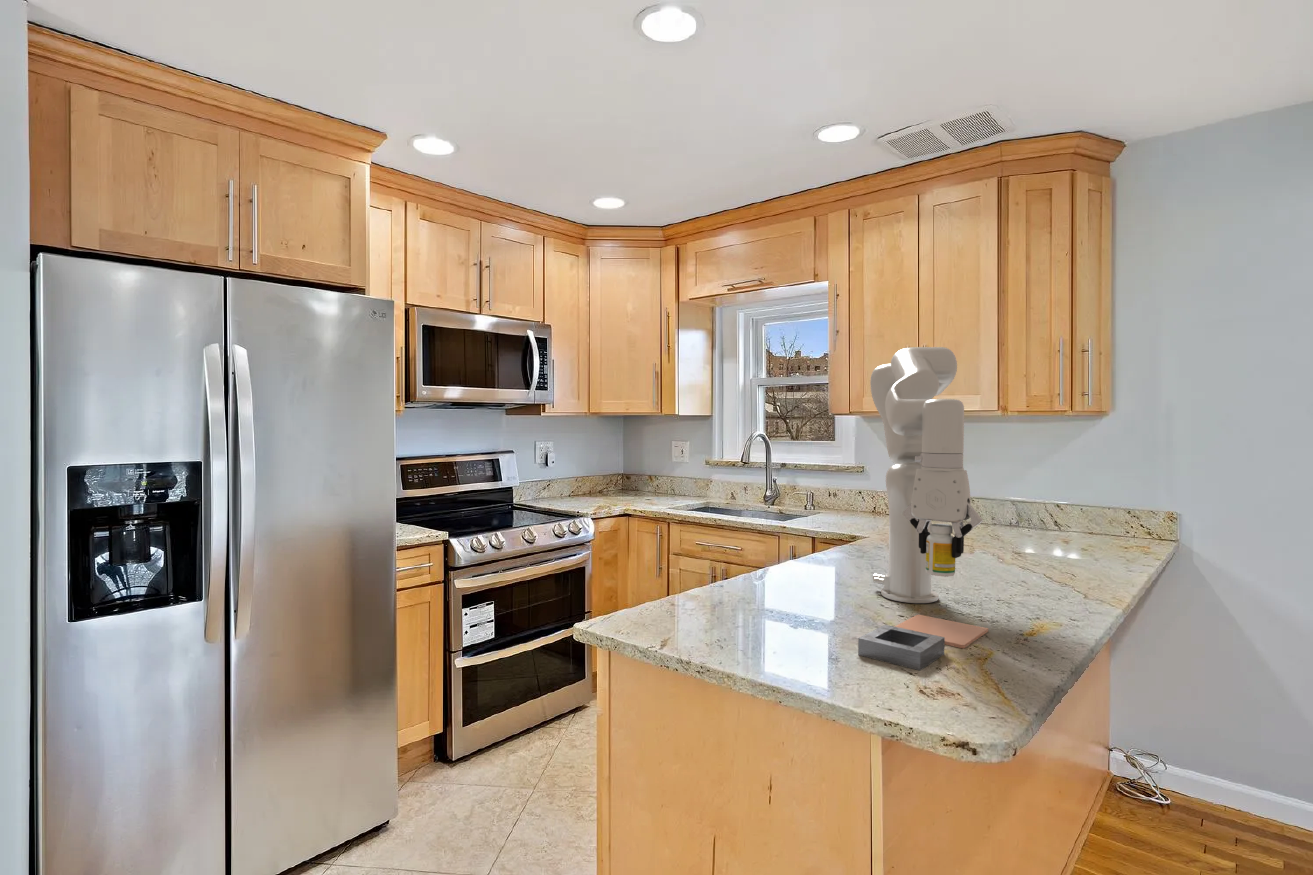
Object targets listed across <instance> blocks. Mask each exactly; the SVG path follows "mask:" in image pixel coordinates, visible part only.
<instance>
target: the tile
mask: <svg viewBox="0 0 1313 875" xmlns="http://www.w3.org/2000/svg"><path fill="white" fill-rule="evenodd" d="M894 627H899V628H903V629H908V630H913V631H917V632H922V633H927V634H931V635H936V636H941V637H945V645H946V646H950V647H956V648H958V649H959V648H960V649H966V648H967V647H968V646H969V645H972V644H973V643H974V642H975V641H977V640H978V639H980V638H981V637H982V636H985V635H986V633H989V628H988V627H983V626H979V625H974V624H973V625H972V624H970V623H969V624H968V623H963V622H958V621H954V620H948V619H943V618H938V617H933V616H929V615H925V614H924V615H923V614H915V615H914V616H912V617H910V618H908V619H906V620H904V621H902V622H900V623H899V624H897V625H895V626H894Z"/></svg>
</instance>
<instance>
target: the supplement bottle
mask: <svg viewBox="0 0 1313 875" xmlns="http://www.w3.org/2000/svg"><path fill="white" fill-rule="evenodd" d="M930 531H931V532H932V534H930V535H928V536H927V539H926V572H927V573H928V574H930V575H931V576H935V577H936V576H937V577H944V578H946V577H953V576H955V574H956V558H953V557H952V538H953V537H954V536H953V535H952V533H953V532H954V529H953V526H952V524H948V523H946V524H945V523H932V524H931V526H930Z"/></svg>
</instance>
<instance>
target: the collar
mask: <svg viewBox="0 0 1313 875" xmlns="http://www.w3.org/2000/svg"><path fill="white" fill-rule="evenodd" d="M857 640H858V643H857V644H858V645H857V646H858V647H857V655H858V656H861V657H865V658H869V659H873V660H876V661H881V662H885V663H890V664H892V665H897V666H900V667H905V668H909V669H912V670H913V669H914V670H916V671H922V670H923V669H925V668H926V667H928V666H929V665H930V664H932V663H933V662H935V661H937V660H938V659H939V658H941V657H942V656H944V655H945V645H946V644H945V637H941V636H936V635H931V634H927V633H922V632H917V631H913V630H908V629H903V628H899V627H895V626H894V625H888V624H884V625H882V626H879V627H877V628H876V629H873V630H872V631H870V632H867V633H865V634H863V635H861V636H860V637H858V639H857Z"/></svg>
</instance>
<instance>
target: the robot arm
mask: <svg viewBox="0 0 1313 875" xmlns="http://www.w3.org/2000/svg"><path fill="white" fill-rule="evenodd" d="M957 370H958V361H957V357H956V355H955V353H954V352H953V351H952V350H951V349H949V348H947V347H943V346H938V347H937V346H927V347H925V346H922V347H921V346H916V347H915V346H913V347H905V348H902V349H899V350H898V351H897V352H895V353H894V354H893V355H892V357H891V360H890V363H885V364H881V365H878V366H877V367H875V368H874V369H873V371H872V372H871V375H870V380H869V381H870V392H871V397H872V401H873V405H874V406H875V408H876V411H877V412H878V414H879V416H880V418H881V420H882V424H883V430H884V431H883V432H884V437H885V443H886V449H887V454H888V457H889V459H890V461H891V462H892V463H893V465H892V466H891V465H890V467H888V470H887V471H886V475H885V488H886V494H887V495H886V496H887V502H888V566H887V567H888V569H887V570H888V572H887V574H886V575H883V574H881V573H874V574H873V575H872V582H873V583H874V584H880V585H882V586H883V587H882V588H881V590H880V591H881V596H882V597H884V598H885V599H889V600H891V601H896V602H901V603H907V604H908V603H909V604H930V603H935V602H937V601H938V600H939V593H938V592H937V591H935V590H932V575H930V574H928V573H927V572H926V539H927V536H928V535H930V534H932V532H931V531H930V526H931V524H933V522H934V521H935V522H943V523H951V525H952V527H953V532H954V536H953V538H952V557H953V558H955V559H957V558H960V557H962V554H964V548H965V546H964V545H965V536H967V534H968V533H970V532H971V531H972V530H973V529H974V528H976V527H977V526H979V525H981V523H983V518H982V517H981V516H980V515H979V513H978V512H977V510H975V508H974V507H973V506H972V505H971V504H972V503H971V501H972V500H971V489H970V481H969V475H968V471H967V470H965V467H964V442H965V441H964V440H965V438H964V436H965V434H964V433H965V406H964V403H963V402H962V401H961V400H959V399H955V398H952V399H951V398H937V399H936V398H935V397H936V396H939V395H941V394H942V393H943V392H944V391H945V390H946V389H947V388H948V387H949V386H950V385H951V383H952V382H954V379H955V378H956V375H957V372H958V371H957ZM934 398H935V399H934ZM969 519H970V520H969ZM967 520H969V522H968V523H966V524H965V523H964V521H967ZM932 521H933V522H932Z"/></svg>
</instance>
